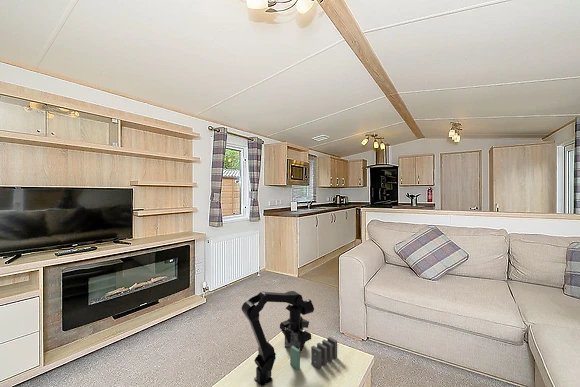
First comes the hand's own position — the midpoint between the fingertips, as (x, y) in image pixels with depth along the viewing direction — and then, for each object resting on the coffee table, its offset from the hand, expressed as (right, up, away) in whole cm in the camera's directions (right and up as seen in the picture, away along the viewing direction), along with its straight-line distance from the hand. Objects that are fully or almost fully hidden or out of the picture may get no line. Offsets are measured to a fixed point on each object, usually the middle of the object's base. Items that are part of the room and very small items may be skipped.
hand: (294, 347), depth 133 cm
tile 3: (+14, -10, +3) cm, 18 cm away
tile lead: (0, -10, 0) cm, 10 cm away
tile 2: (+11, -10, 0) cm, 15 cm away
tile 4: (+18, -10, +6) cm, 21 cm away
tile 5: (+21, -10, +8) cm, 24 cm away
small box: (0, -10, +19) cm, 21 cm away
